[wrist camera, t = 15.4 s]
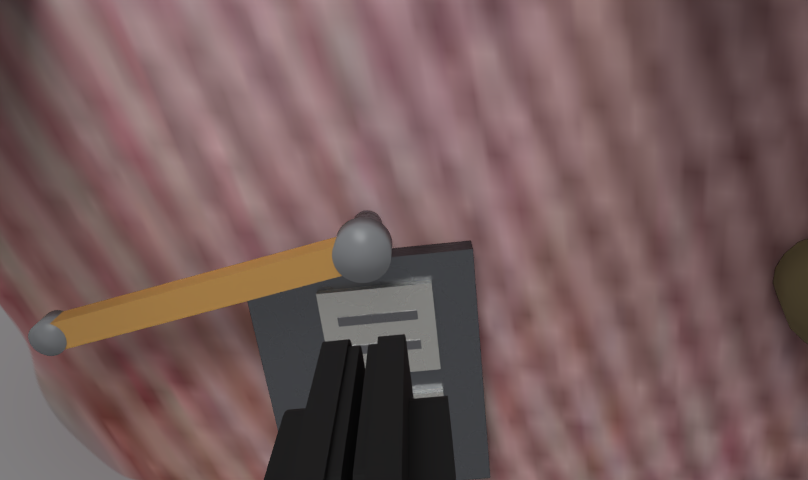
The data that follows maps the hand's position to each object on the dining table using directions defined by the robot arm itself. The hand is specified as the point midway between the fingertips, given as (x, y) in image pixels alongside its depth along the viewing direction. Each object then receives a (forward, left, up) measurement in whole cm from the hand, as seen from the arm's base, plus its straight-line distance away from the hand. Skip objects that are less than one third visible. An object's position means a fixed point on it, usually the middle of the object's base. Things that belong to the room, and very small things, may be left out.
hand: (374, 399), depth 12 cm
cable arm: (+13, +9, -26) cm, 30 cm away
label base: (+4, +18, -29) cm, 34 cm away
